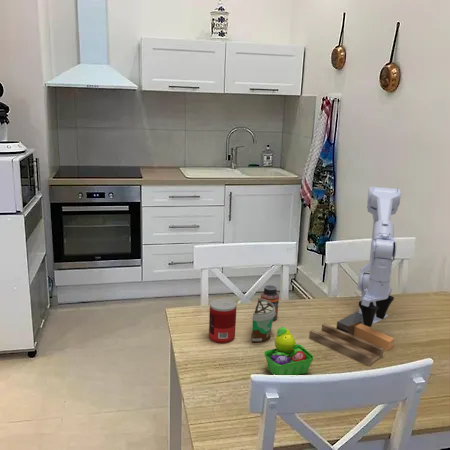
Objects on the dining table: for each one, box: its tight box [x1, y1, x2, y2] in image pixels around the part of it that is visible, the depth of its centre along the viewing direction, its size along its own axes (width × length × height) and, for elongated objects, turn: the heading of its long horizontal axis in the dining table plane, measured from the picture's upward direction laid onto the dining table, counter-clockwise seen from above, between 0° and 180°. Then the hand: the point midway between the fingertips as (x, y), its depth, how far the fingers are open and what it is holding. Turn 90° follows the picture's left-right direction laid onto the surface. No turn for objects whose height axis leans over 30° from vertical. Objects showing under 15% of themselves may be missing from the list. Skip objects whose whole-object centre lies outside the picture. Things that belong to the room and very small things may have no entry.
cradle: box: [308, 322, 385, 367], centre depth 136 cm, size 20×8×3 cm, turn 44°
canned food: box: [208, 298, 237, 344], centre depth 138 cm, size 8×8×11 cm
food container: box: [251, 297, 276, 344], centre depth 140 cm, size 12×6×10 cm, turn 168°
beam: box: [335, 311, 364, 335], centre depth 145 cm, size 11×4×5 cm, turn 134°
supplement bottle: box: [260, 284, 280, 323], centre depth 151 cm, size 6×6×11 cm
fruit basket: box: [263, 326, 315, 376], centre depth 122 cm, size 11×9×11 cm
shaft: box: [353, 323, 396, 351], centre depth 141 cm, size 16×3×3 cm, turn 43°
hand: (373, 321), depth 139 cm, fingers open, 7 cm apart
